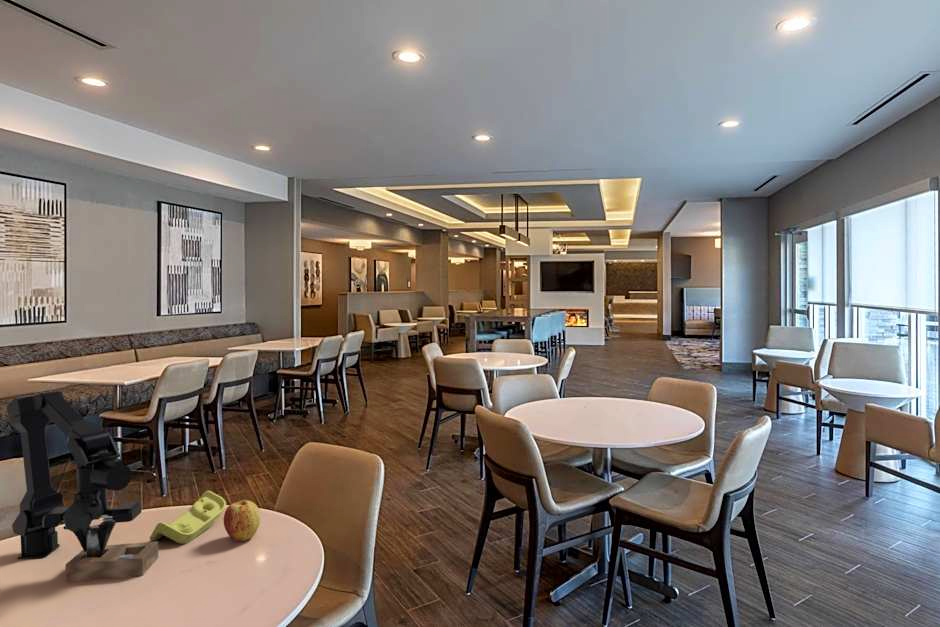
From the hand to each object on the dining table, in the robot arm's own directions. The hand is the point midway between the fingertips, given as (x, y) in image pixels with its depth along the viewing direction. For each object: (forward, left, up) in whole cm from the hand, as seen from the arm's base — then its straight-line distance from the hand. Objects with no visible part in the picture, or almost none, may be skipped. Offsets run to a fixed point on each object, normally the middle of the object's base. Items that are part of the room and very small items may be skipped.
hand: (94, 550), depth 130 cm
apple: (+30, +12, -5) cm, 33 cm away
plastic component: (+15, +21, -5) cm, 26 cm away
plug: (0, 0, -2) cm, 2 cm away
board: (+4, 0, -5) cm, 6 cm away
